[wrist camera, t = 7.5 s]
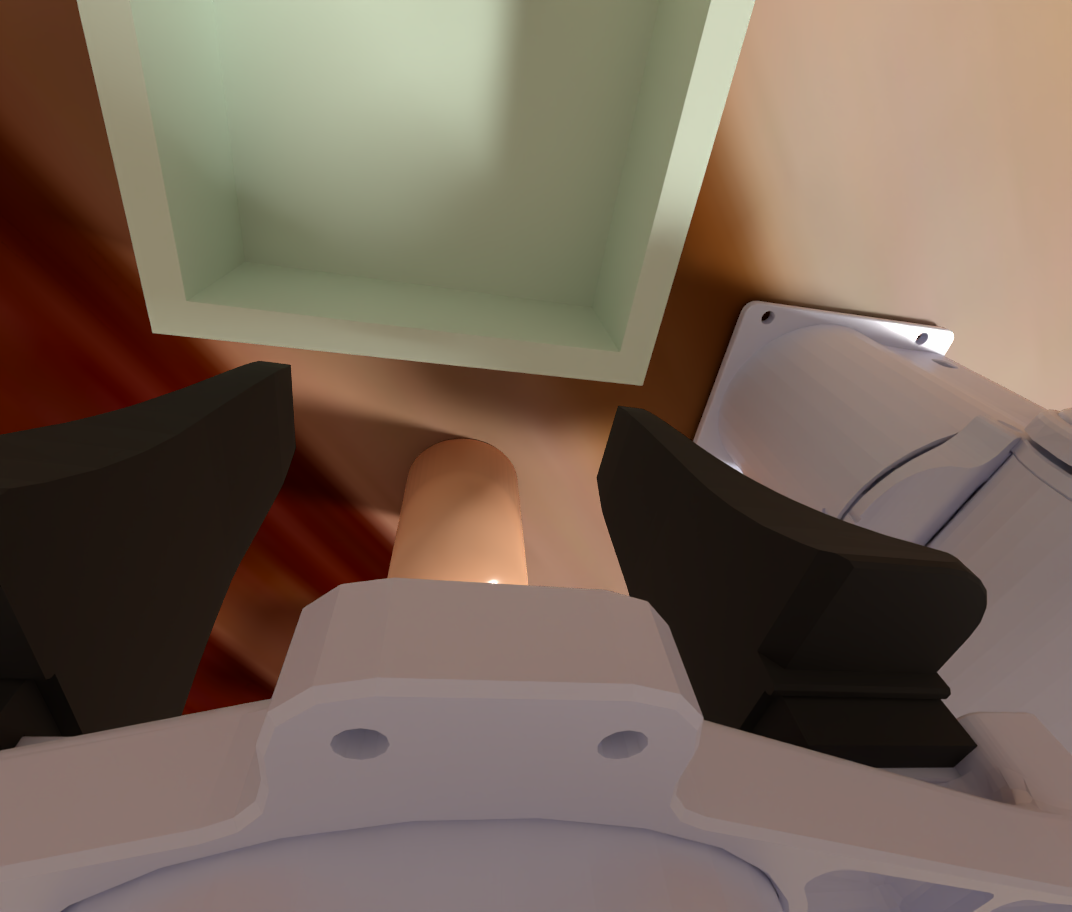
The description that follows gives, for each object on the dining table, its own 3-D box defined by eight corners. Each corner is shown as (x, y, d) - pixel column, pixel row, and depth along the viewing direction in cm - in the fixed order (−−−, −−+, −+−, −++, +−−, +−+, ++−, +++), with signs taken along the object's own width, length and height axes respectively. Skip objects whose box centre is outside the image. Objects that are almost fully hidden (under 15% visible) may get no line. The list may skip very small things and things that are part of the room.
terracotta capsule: (524, 443, 23) (539, 553, 18) (511, 530, 26) (520, 651, 20) (407, 434, 23) (382, 547, 17) (406, 524, 25) (384, 649, 19)
